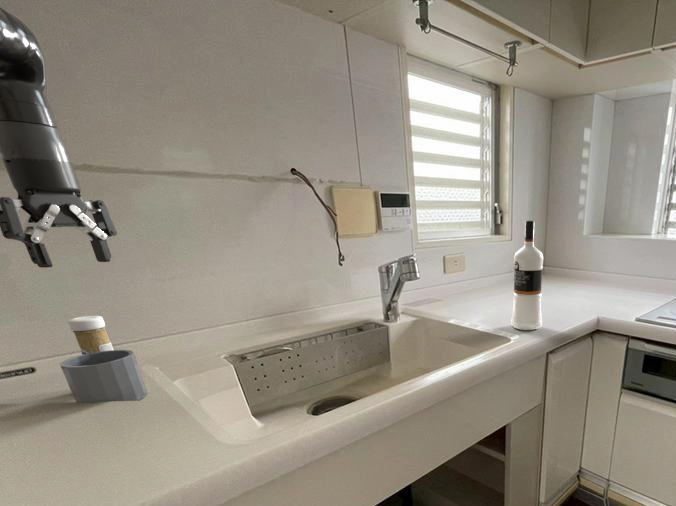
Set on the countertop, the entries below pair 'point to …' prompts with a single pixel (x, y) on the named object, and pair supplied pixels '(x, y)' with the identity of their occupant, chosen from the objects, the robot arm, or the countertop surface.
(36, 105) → the robot arm
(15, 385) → the countertop surface
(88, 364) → the blue-grey round container
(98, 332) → the sprinkles bottle
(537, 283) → the vodka
